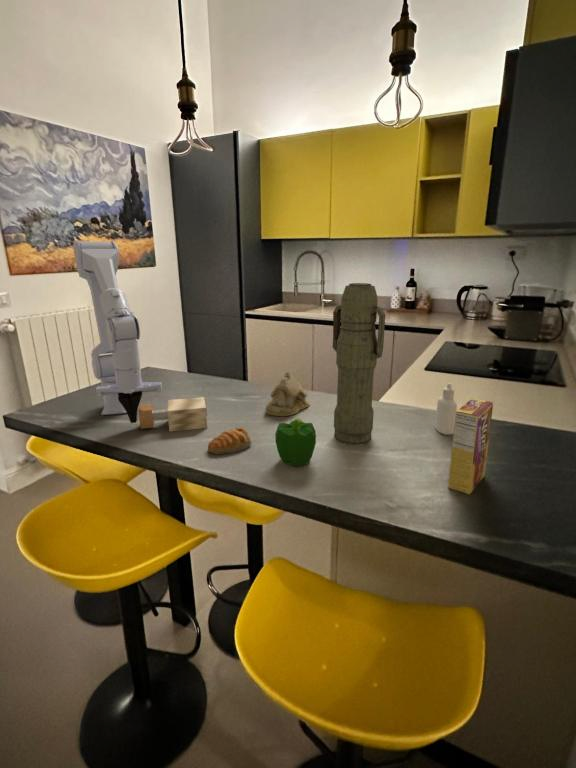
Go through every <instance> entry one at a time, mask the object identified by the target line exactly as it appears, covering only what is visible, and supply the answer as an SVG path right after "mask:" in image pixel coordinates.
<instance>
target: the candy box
mask: <svg viewBox="0 0 576 768" xmlns="http://www.w3.org/2000/svg"><path fill="white" fill-rule="evenodd" d="M493 408H494V402H493V401H488V400H483V399H479V398H471V399H469V400H468V401H467V402H466V403H465V404H464V405H462V406H461V407H460V408H457V410H456V414H455V425H454V433H453V434H452V445H451V454H450V464H449V465H450V466H449V474H448V485H447V487H448V489H452V490H454V491H457V492H460V493H463V494H465V495H471V493H472V492H473V491H474V490H475V488H476V487H477V486H478V484H479V483H480V482H481V481H482V480H483V478H484V477H485V474H486V467H487V466H486V465H487V459H488V450H489V449H488V448H489V442H490V433H491V426H492V417H493Z"/></svg>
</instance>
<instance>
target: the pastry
mask: <svg viewBox="0 0 576 768" xmlns="http://www.w3.org/2000/svg"><path fill="white" fill-rule="evenodd" d="M251 445H252V440H251V437H250V436H249V433H248V431H247V430H246V428H244V427H238V426H237V427H235V428H234V429H229V430H224V431H223V432H221V433H220V434H219V435H218V436H215V437H214V438H213V439H212V440H211V441H210V442H208V445H207V446H208V447H207V451H208V452H210V453H212V454H216V455H222V454H229V453H236V452H237V451H241V450H245V449H247V448H249V447H250V446H251Z"/></svg>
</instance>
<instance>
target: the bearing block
mask: <svg viewBox="0 0 576 768" xmlns="http://www.w3.org/2000/svg"><path fill="white" fill-rule="evenodd" d="M206 407H207V404H206V402H205V397H204V396H202V397H190V398H178V399H177V398H175V399H168V400H167V409H168V419H167V420H168V421H167V422H168V430H169V432H176V431H177V432H179V431H180V432H181V431H189V430H198V429H199V430H200V429H207V428H208V419H207V416H208V415H207V416H206Z"/></svg>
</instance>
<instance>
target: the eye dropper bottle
mask: <svg viewBox="0 0 576 768" xmlns="http://www.w3.org/2000/svg"><path fill="white" fill-rule="evenodd" d="M454 396H455V389H454V388H453V387H452V383H451V382H448V383H447V385H446V386H445V387H443V390H442V396H440V397H439V398H437V405H436V413H435V423H434V428H435V430H436V431H437V432H438V433H440V434H443V435H446V436H448V435H450V436H451V435H453V434H454V425H455V414H456V411H457V410H458V404H457V401H456V400H455V399H454Z"/></svg>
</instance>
